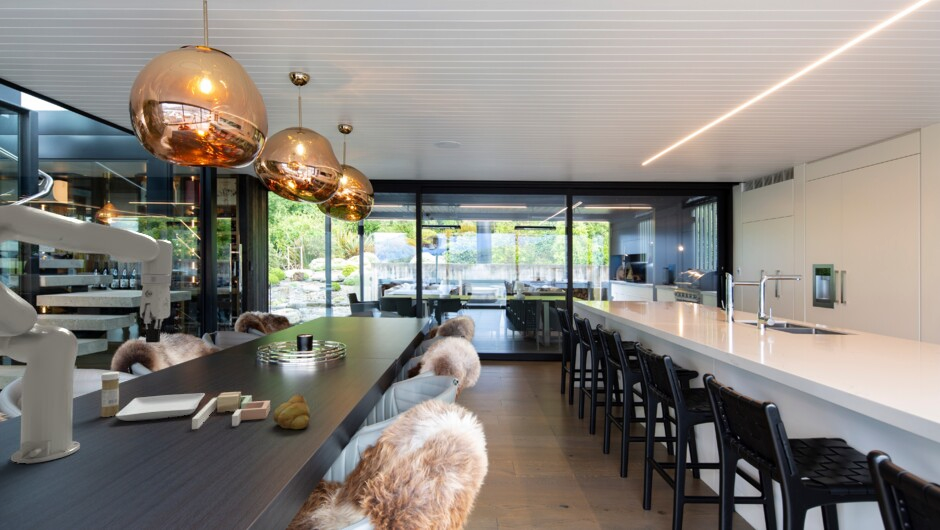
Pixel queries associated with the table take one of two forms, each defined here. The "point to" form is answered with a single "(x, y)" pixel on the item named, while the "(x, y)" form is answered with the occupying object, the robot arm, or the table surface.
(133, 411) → the salad plate
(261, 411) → the pastel wall shelf
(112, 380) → the sprinkles bottle
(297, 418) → the bread roll
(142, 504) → the table surface
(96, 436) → the table surface
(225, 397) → the block
